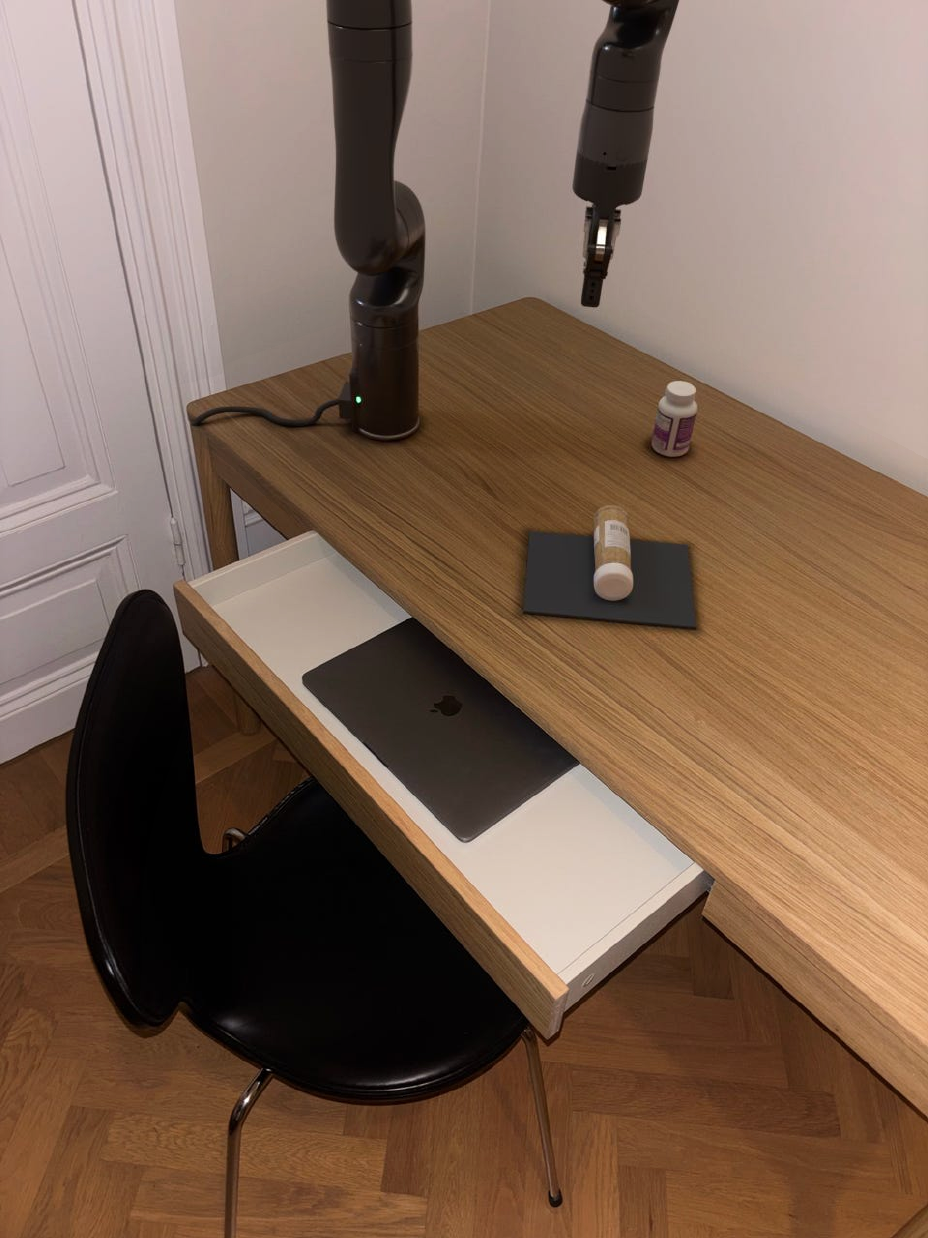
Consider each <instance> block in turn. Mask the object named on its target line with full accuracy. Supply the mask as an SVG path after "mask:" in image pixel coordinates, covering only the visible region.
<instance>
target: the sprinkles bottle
mask: <svg viewBox="0 0 928 1238" xmlns="http://www.w3.org/2000/svg"><path fill="white" fill-rule="evenodd" d="M629 522H630V516H629V514H628V512H627V510H625V509H624V508H623V507H620V506H618V505H615V504H609V505H605V506H602V507H600V508H599V509H597V511H596V512H595V513H594V515H593V520H592V524H593V529H594V530H593V531H594V532H593V537H594V555H595V574H594V589H595V591H596V593H597V594H598V595H599V596H600V597H601V598H603V599H606V600H611V601H615V600H620V599H623V598H625V597H627V596H628V595H629V594H630V593H631V591H632V589H633V574H632V572H631V551H630V540H631V535H630V530H629V529H630V528H629V524H630V523H629Z"/></svg>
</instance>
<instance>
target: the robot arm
mask: <svg viewBox="0 0 928 1238" xmlns="http://www.w3.org/2000/svg"><path fill="white" fill-rule="evenodd" d="M601 1H602V2H604V3H605V4H607V5H609V6H610V8H609V11H608V17H607V21H606V24H605V27H604V29H603V31H602V33H601V34H600V35H599V36H598V38H597V39H596V41H595V43H594V46H593V49H592V53H591V59H590V63H589V73H588V79H587V87H586V94H585V95H586V96H585V102H584V106H583V111H582V114H581V118H580V124H579V131H578V137H577V146H576V155H575V163H574V171H573V179H572V192H573V193H574V195H575V196H576V197H577V198H578V199H581V200H583V202H588V203H591V206H588V205H585V212H584V219H583V222H584V223H583V233H584V235H583V240H582V241H583V243H582V257H583V258H584V260H585V261H583V264H582V265H583V266H582V267H583V269H582V274H583V281H582V286H581V287H582V288H581V295H580V305H581V306H582V307H585V308H586V307H587V308H594V309H595V308H598V307H599V306H600V303H601V298H602V291H603V285H604V280H606V279H607V277H608V275H609V271H608V270H609V266H610V262H611V260H613V258H614V252H615V246H616V240H617V237H618V236H619V235H620V231H621V225H622V218H621V216H622V209H619V207H621V206H628V205H631V204H634V203H636V202H638V200H639V199H640V198H641V196H642V193H643V189H644V183H645V182H644V181H645V176H646V170H647V165H648V160H649V153H650V148H651V142H652V137H653V130H654V115H655V105H656V99H657V94H658V88H659V82H660V77H661V69H662V59H663V54H664V50H665V47H666V44H667V41H668V39H669V36H670V32H671V30H672V26H673V23H674V20H675V16H676V13H677V10H678V6H679V3H680V0H601ZM412 3H413V2H412V0H325V7H326V8H325V10H326V29H327V30H326V31H327V43H328V46H327V47H328V55H329V56H328V57H329V67H330V77H331V96H332V117H333V129H334V130H333V131H334V144H335V170H334V171H335V173H334V176H335V177H334V200H333V201H334V205H333V232H334V238H335V242H336V246H337V248H338V251H339V253H340V256H341V257H342V259H343V261H345V263H346V265H347V266H348V267H350V268H351V269H352V270H353V271H354V272H356V276H355V279H354V281H353V283H352V285H351V287H350V290H349V293H348V311H349V312H348V313H349V329H350V330H349V331H350V346H351V348H350V349H351V350H350V351H351V365H350V369H349V372H348V381H344V384H343V386H342V389H341V392H340V394H339V396H338V397H337V398H334V399H331V400H328V401H326V402H324V403H322V404H321V405H320V406H319V407H318V408H317V409H316V410H315V413H314V415H313V416H312V417H310V418H307V419H301V420H299V419H289V418H284V417H280V416H277V415H275V414H273V413H271V412H270V411H268V410H267V409H264V408H260V407H253V406H237V405H236V406H235V405H234V406H233V405H230V406H229V405H228V406H220V407H214V408H212V409H208V410H207V411H204V412H203V413H201V414H200V415H198V416H197V417H196V418H195V419H194V420H192V422H191V424H190V426H192V427H196V426H199V425H200V424H201V423H202V422H203V421H205V420H206V419H209V418H210V417H214V416H215V415H219V414H225V413H243V414H256V415H261V416H263V417H265V418H267V419H268V420H270V421H271V422H274V423H276V424H280V425H286V426H292V427H293V426H294V427H306V426H310V425H313V424H315V423H317V422H318V421H319V420H320V419H321V417H322V415H323V413H324V412H325V411H326V410H328V409H330V408H332V407H335V406H338V414H339V415H338V417H339V419H341V420H343V419H344V420H351V430H352V432H353V433H358V434H361V435H362V436H363V437H366V438H368V439H371V440H377V441H384V442H385V441H388V442H389V441H390V442H391V441H396V440H402V439H405V438H408V437H410V436H411V435H413V434H414V433H416V432H417V430H418V429H419V427H420V409H419V407H420V405H419V403H420V402H419V401H420V399H419V398H420V397H419V393H420V392H419V391H420V390H419V389H420V388H419V387H420V386H419V385H420V383H419V378H420V377H419V376H420V375H419V374H420V373H419V372H420V371H419V369H420V367H419V366H420V365H419V363H420V362H419V361H420V359H419V357H420V356H419V355H420V351H419V350H420V349H419V348H420V347H419V345H420V344H419V339H420V335H419V325H420V324H419V317H420V316H419V305H420V300H421V296H422V292H423V289H424V283H425V265H426V245H427V244H426V242H427V241H426V240H427V234H426V232H427V230H426V229H427V228H426V219H425V218H426V217H425V213H424V209H423V207H422V203H421V202H420V199H419V198H418V196H417V194H416V193H415V192H414V191H413V190H412V188H411V187H409V186H408V185H406V183H404V182H402V181H400V180H396V179H395V157H396V156H395V155H396V148H397V142H398V138H399V134H400V130H401V125H402V123H403V118H404V114H405V110H406V105H407V100H408V97H409V93H410V86H411V82H412V81H411V80H412V74H413V63H414V62H413V61H414V46H413V43H414V41H413V35H414V34H413V29H414V28H413V18H414V17H413V4H412Z"/></svg>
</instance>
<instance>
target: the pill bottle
mask: <svg viewBox="0 0 928 1238" xmlns="http://www.w3.org/2000/svg"><path fill="white" fill-rule="evenodd" d="M664 394H665V395H664V396H663V397H662V398H660V400H659V403H658V405H657V411H656V417H655V422H654V428H653V432H652V438H651V447H652V448H653V450H654V451H655V452H656V453H658V454H659V455H662V456H665V457H669V458H674V457H681V456H683V455H685V454H687V453H688V451H689V449H690V445H691V441H692V436H693V433H694V428H695V423H696V419H697V414H698V404H697V402H696V400H695V399H696V394H697V388H696V386H695V385H693V384H692V383H691V382H687V381H684V380H675V381H671V382H669V383H668V384H667V386H666V390H665V393H664Z"/></svg>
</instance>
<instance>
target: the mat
mask: <svg viewBox="0 0 928 1238" xmlns="http://www.w3.org/2000/svg"><path fill="white" fill-rule="evenodd" d="M527 546H528V548H527V557H526V558H527V559H526V571H525V583H524V596H523V607H522V614H526V615H537V616H538V615H539V616H547V617H559V618H570V619H581V620H590V621H601V622H602V621H604V622H611V623H621V624H633V625H644V626H655V627H667V628H676V629H688V630H697V617H696V609H695V601H694V591H693V582H692V581H693V580H692V571H691V564H690V563H691V562H690V554H689V546H688V544H683V543H669V542H659V541H648V540H635V539H630V551H631V572H632V574H633V589H632V591H631V593H630V594H629V595H628V596H627V597H625V598H623V599H620V600H615V601H611V600H606V599H603V598H601V597H600V596H599V595H598V594H597V593H596V591H595V589H594V574H595V555H594V536H591V535H581V534H580V535H579V534H571V533H570V534H568V533H557V532H547V531H546V532H545V531H536V530H535V531H534V530H529V535H528V545H527Z"/></svg>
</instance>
